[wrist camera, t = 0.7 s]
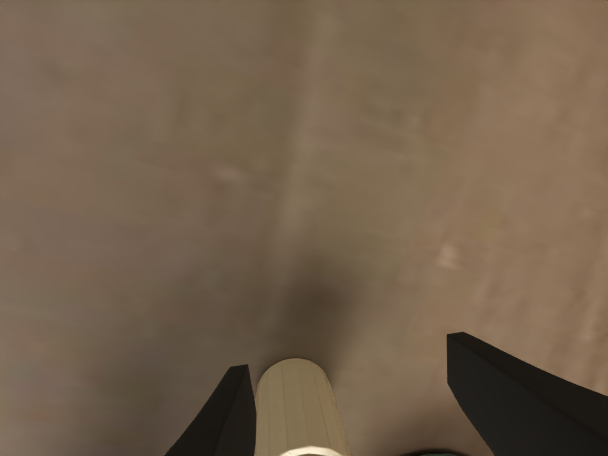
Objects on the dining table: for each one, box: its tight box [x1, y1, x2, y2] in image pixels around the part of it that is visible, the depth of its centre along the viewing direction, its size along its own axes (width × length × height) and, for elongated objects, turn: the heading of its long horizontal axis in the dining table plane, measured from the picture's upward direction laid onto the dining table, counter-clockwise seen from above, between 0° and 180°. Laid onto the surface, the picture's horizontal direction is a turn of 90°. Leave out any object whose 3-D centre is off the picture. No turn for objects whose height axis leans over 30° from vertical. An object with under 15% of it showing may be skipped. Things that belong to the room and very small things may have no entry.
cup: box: [254, 358, 352, 456], centre depth 19 cm, size 5×5×8 cm
